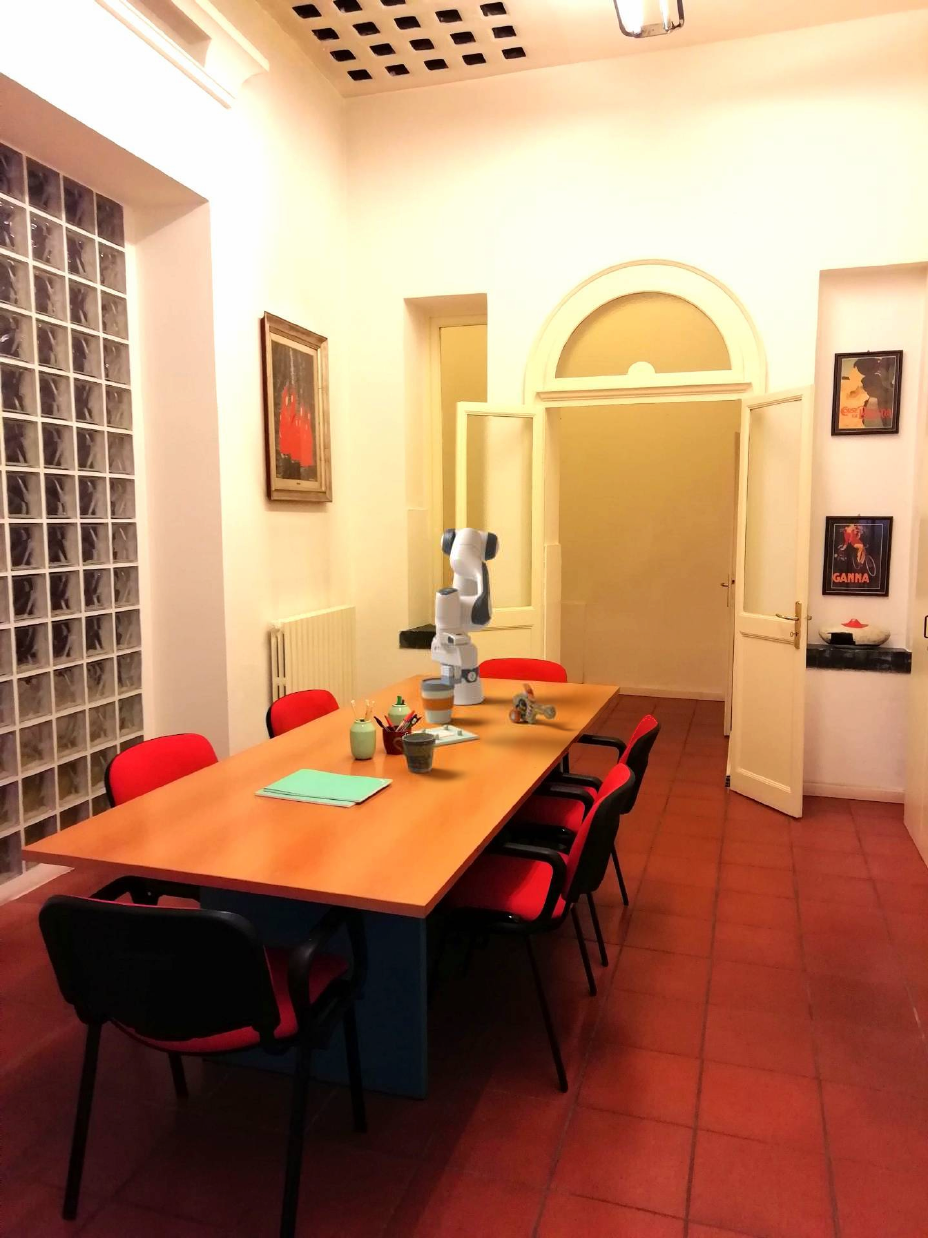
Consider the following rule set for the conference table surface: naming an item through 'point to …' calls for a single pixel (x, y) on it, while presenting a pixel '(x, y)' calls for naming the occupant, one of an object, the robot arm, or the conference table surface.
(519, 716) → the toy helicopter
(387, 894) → the conference table surface
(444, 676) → the brick stack
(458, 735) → the baseplate
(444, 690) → the reusable coffee cup
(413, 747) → the ceramic cup
